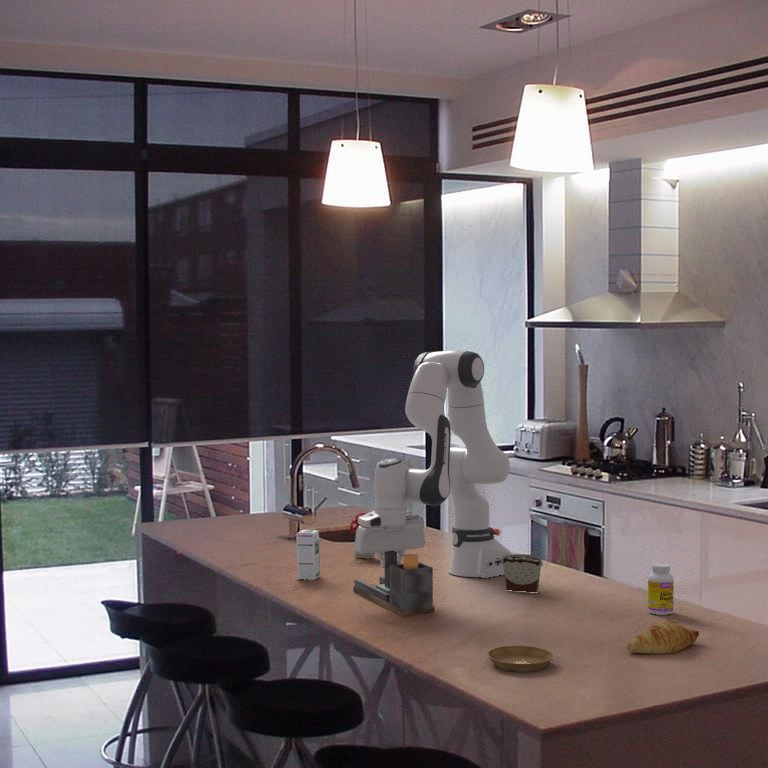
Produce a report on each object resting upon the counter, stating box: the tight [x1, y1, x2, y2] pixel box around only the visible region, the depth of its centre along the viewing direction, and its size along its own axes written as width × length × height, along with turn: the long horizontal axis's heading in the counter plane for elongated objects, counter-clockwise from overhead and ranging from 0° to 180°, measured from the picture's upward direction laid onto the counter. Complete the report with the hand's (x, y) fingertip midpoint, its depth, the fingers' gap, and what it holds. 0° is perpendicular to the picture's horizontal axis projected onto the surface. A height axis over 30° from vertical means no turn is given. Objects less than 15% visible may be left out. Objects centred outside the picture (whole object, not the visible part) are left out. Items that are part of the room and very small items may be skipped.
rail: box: [352, 561, 435, 617], centre depth 325 cm, size 10×32×12 cm, turn 25°
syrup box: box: [295, 529, 321, 581], centre depth 356 cm, size 6×6×14 cm
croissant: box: [626, 619, 700, 655], centre depth 275 cm, size 21×10×8 cm, turn 118°
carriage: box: [376, 551, 398, 594], centre depth 325 cm, size 6×8×12 cm
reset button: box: [402, 553, 419, 570], centre depth 313 cm, size 4×4×6 cm
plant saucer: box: [487, 645, 554, 672], centre depth 263 cm, size 15×15×3 cm
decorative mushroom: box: [349, 512, 376, 559], centre depth 387 cm, size 10×9×15 cm
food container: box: [501, 553, 544, 593], centre depth 337 cm, size 12×6×10 cm, turn 65°
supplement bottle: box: [647, 562, 675, 616], centre depth 309 cm, size 7×7×13 cm
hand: (390, 566), depth 325 cm, fingers closed on carriage, 2 cm apart
